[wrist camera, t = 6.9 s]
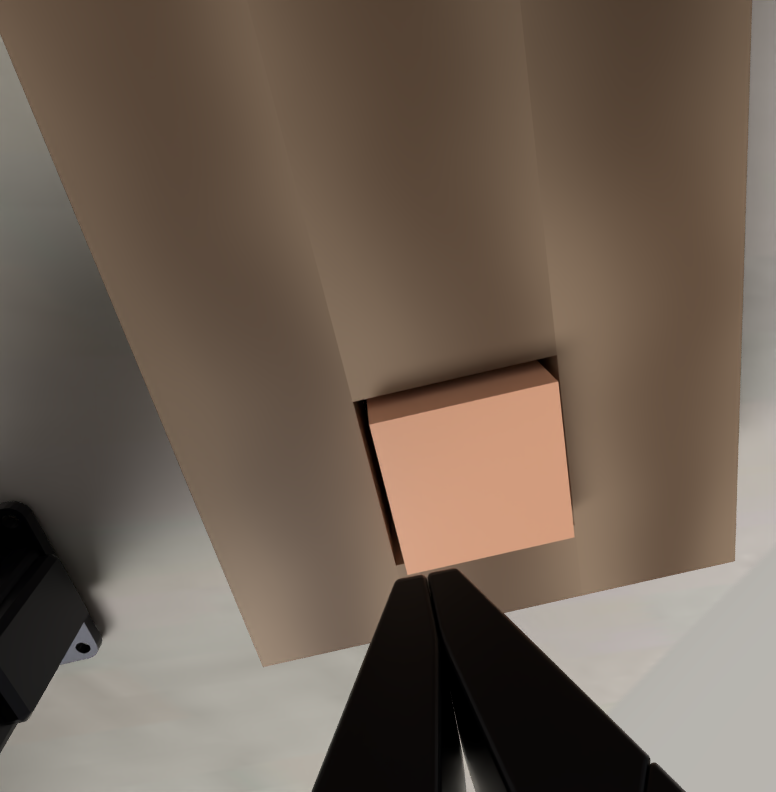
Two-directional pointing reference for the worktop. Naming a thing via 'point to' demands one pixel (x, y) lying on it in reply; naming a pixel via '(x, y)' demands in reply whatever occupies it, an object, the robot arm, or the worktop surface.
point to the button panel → (413, 263)
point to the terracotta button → (474, 465)
